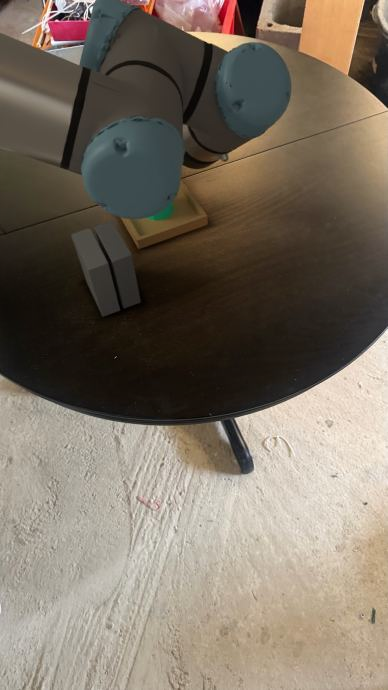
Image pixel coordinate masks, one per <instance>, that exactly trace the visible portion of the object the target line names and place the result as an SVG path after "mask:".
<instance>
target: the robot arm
mask: <svg viewBox="0 0 388 690" xmlns="http://www.w3.org/2000/svg"><path fill="white" fill-rule="evenodd" d="M291 96H292V79H291V74H290V70H289V67H288V66H287V64H286V62H285V59H283V57H282V55H281V54H279V52H278V51H277V50H275V48H273V47H272V46H270V45H269V44H267V43H264V42H261V41H257V42H256V41H250V42H243V43H242V44H240V45H237V46H235V47H233V48H231V50H229V51H228V50H226V49H223V48H221V47H220V46H218V45H216V44H214V43H212V42H208V41H205V40H203V39H201V38H199V37H197V36H195V35H192V34H191V33H189V32H187V31H184V30H183V29H181V28H180V27H177V26H175V25H173V24H171V23H169V22H167V21H165V20H163V19H161V18H159V17H157V16H155V15H153V14H151V13H149V12H147V11H145V10H143V8H142V6H141V7H140V6H138V5H137V4H131V3H128V2H126V1H123V0H94V2H93V4H92V9H91V14H90V16H89V21H88V25H87V29H86V34H85V38H84V43H83V46H82V52H81V55H80V59H79V64H77V63H75V62H73V61H70V60H68V59H65V58H62V57H61V56H58V55H55V54H54V53H51V52H48V51H46V50H43V49H41V48H38V47H36V46H34V45H31V44H29V43H27V42H24V41H22V40H19V39H16V38H14V37H12V36H10V35H8V34H5V33H2V32H0V149H2V150H5V151H8V152H11V153H14V154H17V155H20V156H23V157H26V158H29V159H33V160H35V161H39V162H42V163H45V164H48V165H51V166H54V167H57V168H60V169H63V170H65V171H68V172H71V173H74V174H77V175H80V176H81V179H82V183H83V186H84V189H85V191H86V193H87V195H88V197H89V198H90V200H92V201H93V202H94V204H97V205H98V206H99V207H101V208H102V209H104V211H105V213H108V214H110V215H111V216H114V217H118V218H120V219H121V218H126V219H142V218H147V217H151V216H153V215H156V214H158V213H160V212H161V211H163V210H164V209H166V208H167V207H168V206H169V205H170V204H171V203H172V201H173V200H174V198H175V197H176V196H177V194H178V190H179V187H180V182H181V180H182V170H183V166H184V167H186V168H188V169H191V170H203V169H207V168H209V167H210V166H212V165H213V164H215V163H216V162H218V161H221V162H224V163H225V162H228V161H229V158H230V157H229V154H230V153H232V152H233V151H235V150H237V149H238V148H241V147H242V146H243V145H245V144H247V143H248V142H250V141H252V140H254V139H256V138H259V137H261V136H262V135H264V134H265V133H266V132H267V131H268V130H269V129H270V128H271V127H273V126H275V124H276V123H277V122H278V121H279V120H280V119H281V118H282V116H283V115H284V114H285V113H286V111H287V109H288V106H289V103H290V102H291Z"/></svg>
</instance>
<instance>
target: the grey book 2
mask: <svg viewBox="0 0 388 690" xmlns="http://www.w3.org/2000/svg"><path fill="white" fill-rule="evenodd" d="M93 228H94V232H95V235H96V240H97V242H98V244H99V246H100V248H101V250H102V252H103V254H104V256H105V258H106V260H107V262H108V264H109V268H110V272H111V276H112V280H113V284H114V288H115V292H116V296H117V299H118V301H119V302H120V304H121V306H122V308H123V309H127V308H129V307H133V306H134V305H137V304H140V303H141V302H142V301H141V296H140V295H141V294H140V289H139V285H138V280H137V275H136V270H135V264H134V258H133V255H132V252H131V250H130V249H129V247H128V245H127V244H126V242H125V240H124V238H123V236H122V235H121V233H120V231H119V229H118V227H117V226H116V224H115V221H113V220H110V221H106V222H104V223H100V224H98V225H95V226H93Z"/></svg>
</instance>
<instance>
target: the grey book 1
mask: <svg viewBox="0 0 388 690" xmlns="http://www.w3.org/2000/svg"><path fill="white" fill-rule="evenodd" d="M70 236H71V239H72V242H73V245H74V248H75V251H76V254H77V257H78V260H79V263H80V266H81V269H82V272H83V276H84V278H85V282H86V284H87V286H88V288H89V290H90V293H91V295H92V298H93V299H94V302H95V304H96V306H97V308H98V309H99V312H100V314H101V316H102V317H103V318H105V317H106V316H109V315H111V314H115V313H117V312H119V311H121V308H120V304H119V298H118V296H117V294H116V292H115V288H114V284H113V280H112V276H111V272H110V268H109V264H108V262H107V260H106V258H105V256H104V254H103V252H102V250H101V248H100V246H99V243H98V240H97V237H95V234H94V233H93V231H92V229H91V227H89V228H86V229H83V230H79V231H76V232H73V233H70Z"/></svg>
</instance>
